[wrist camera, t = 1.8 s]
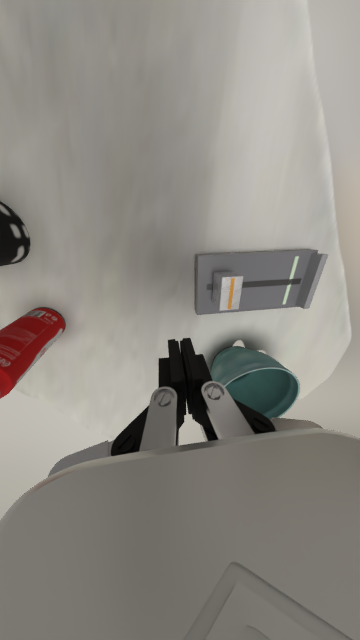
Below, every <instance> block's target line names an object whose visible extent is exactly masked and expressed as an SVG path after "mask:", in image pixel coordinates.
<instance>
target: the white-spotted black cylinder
mask: <svg viewBox="0 0 360 640" xmlns="http://www.w3.org/2000/svg"><path fill="white" fill-rule="evenodd" d="M29 250H30V238H29V235H28V232H27V230H26V227H25V225H24V224H23V222H22V221H21V219H20V218H19V217H18V216H17V215H16V214H15V212H14V211H12V210H11V209H10V208H9V207H8V206H6V205H5V204H3V203H2V202H0V266H3V265H9V264H14V263H18V262H20V261H22V260H23V259H25V257H26V256H27V255H28V252H29Z"/></svg>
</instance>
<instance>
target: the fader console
mask: <svg viewBox="0 0 360 640" xmlns="http://www.w3.org/2000/svg"><path fill="white" fill-rule="evenodd" d="M317 252H318V250H310V249H306V250H284V251H261V252H239V253H217V254H196V269H195V311H196V313H197V315H201V314H214V313H226V312H239V311H251V310H264V309H277V308H289V307H301V308H303V309H307V308H309V307H310V304H311V301H312V298H313V296H314V293H315V290H316V287H317V285H318V282H319V279H320V276H321V274H322V271H323V268H324V265H325V262H326V260H327V257H328V255H327V254H317ZM222 271H233V272H235V273H237V274H240V275H242V276H243V282H242V289H241V296H240V303H239V309H234V310H222V311H219V309H218V308H217V307H216V306H215V305H214V303H213V302H212V292H213V277H214V272H222Z"/></svg>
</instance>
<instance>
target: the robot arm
mask: <svg viewBox="0 0 360 640" xmlns="http://www.w3.org/2000/svg"><path fill="white" fill-rule="evenodd" d="M168 348H169V358H160V359H159V388H158V389H157V390H155V391H154V392H153V394H152V396H151V400H150V405H149V406H148V407H147V408H146V409H145V410H144V411H143V412H142V413H141V414H140V415H139V416H138V417H137V418H135V419H134V420H133V421H132V422H131V423H130V424H129V425H128V426H127V427H126V428H125V429H124V430H123V431H122V432H121V433H120V434H119V435H118V436H117V437H116V439H115V440H113V441H111V442H108V441H105V442H102V443H100V444H97V445H94V446H92V447H89V448H87V449H84V450H81V451H79V452H76V453H74V454H71V455H68V456H66V457H64V458H62V459H61V460H60V461H59V462H57V463H56V464H55V466H54V467H53V468H52V470H51V471H50V473H49V475H48V478H46V479H44V480H43V481H41V482H39V483H38V484H37V485H35V486H34V487H32V488H31V489H30V490H28V491H27V492H26V493H24V494H23V495H22V496H21V497H20V498H19V499H18V500H17V501H16V502H15V503H14V504H13V505H12V506H11V508H10V509H9V510H8V511H7V512H6V514H5V515H4V516H3V518H2V519H1V520H0V640H360V438H358V437H355V436H352V435H349V434H346V433H342V432H338V431H334V430H328V429H323V428H322V427H321V426H319V425H318V424H316V423H314V422H311V421H306V420H295V419H286V418H276V417H272V419H268V418H267V417H266V416H264V415H263V414H261V413H259V412H257V411H255V410H253V409H252V408H250V407H248V406H246V405H244V404H242V403H241V402H239V401H237V400H235V399H233V398H232V397H231V396H230V394H229V393H228V391H227V389H226V388H225V387H224V386H223V385H222V384H221V383H219V382H215V381H213V380H212V377H211V375H210V372H209V369H208V367H207V364H206V361H205V359H204V356H203V354H199V355H195V351H194V348H193V345H192V342H191V339H190V338H183V340H182V341H180V348H179V343H178V341H175V339H172V340H168ZM180 350H181V354H180ZM186 401H187V406H188V413H189V414H192V417H193V419H195V421H196V422H198V423H199V424H200V427H201V430H202V433H203V436H204V438H205V441H206V442H200V443H193V444H187V445H180V446H179V428H180V427H181V426H182V424H183V423H184V415H186Z"/></svg>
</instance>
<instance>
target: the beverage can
mask: <svg viewBox="0 0 360 640" xmlns="http://www.w3.org/2000/svg"><path fill="white" fill-rule="evenodd" d="M64 329H65V322H64V320H63V318H62V317H61V316H60V315H59V314H58V313H57V312H55V311H53V310H50V309H47V308H37V309H34V310H32V311H30V312H28V313H27V314H25V315H24V316H22V317H20V318H19V319H17V320H16V321H14V322H13V323H11V324H9V325H8V326H6V327H5V328H3V329H1V330H0V398H2V397H4V396H5V395H7V394H8V393H9V392H10V391H11V390H12V389H13V388H14V387H15V385H16V384H17V383H18V382H19V381H20V380H21V379H22V378H23V376H24V375H25V374H26V373H27V372H28V371H29V370H30V369H31V367H32V366H33V365H34V364H35V363H36V362H37V361H38V360H39V358H40V357H41V356H42V355H43V354H44V353H45V352H46V351H47V349H48V348H49V347H50V346H51V345H52V344H53V343H54V342H55V340H56V339H57V338H58V337H59V336H60V335H61V334H62V333H63V331H64Z"/></svg>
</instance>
